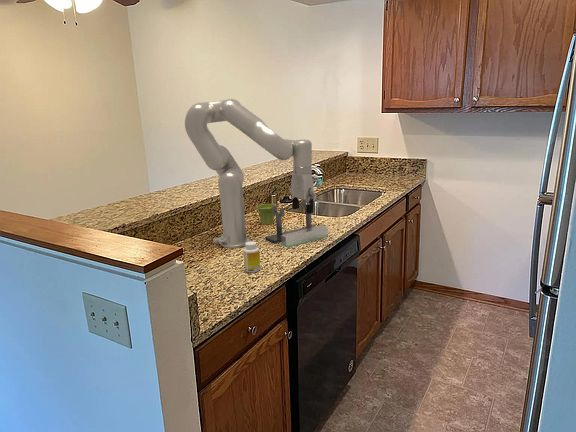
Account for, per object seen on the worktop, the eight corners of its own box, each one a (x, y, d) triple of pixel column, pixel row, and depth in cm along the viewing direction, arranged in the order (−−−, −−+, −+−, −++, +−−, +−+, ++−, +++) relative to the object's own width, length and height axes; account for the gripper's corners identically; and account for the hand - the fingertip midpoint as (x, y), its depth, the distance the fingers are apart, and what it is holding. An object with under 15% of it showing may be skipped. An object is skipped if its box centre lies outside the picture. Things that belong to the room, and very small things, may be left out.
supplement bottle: (263, 269, 158) (262, 242, 156) (252, 274, 155) (250, 246, 152) (253, 266, 162) (251, 239, 160) (241, 270, 158) (239, 243, 156)
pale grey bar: (286, 245, 181) (285, 237, 180) (281, 243, 184) (280, 235, 183) (327, 234, 193) (327, 226, 192) (322, 232, 196) (322, 225, 195)
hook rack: (274, 244, 186) (272, 210, 182) (265, 240, 191) (263, 207, 187) (322, 231, 200) (321, 200, 196) (312, 228, 205) (312, 197, 202)
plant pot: (273, 226, 211) (272, 208, 209) (254, 225, 214) (253, 208, 212) (279, 221, 220) (278, 204, 217) (262, 220, 223) (260, 203, 220)
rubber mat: (287, 247, 180) (287, 246, 180) (280, 244, 185) (280, 243, 185) (327, 236, 192) (327, 235, 192) (319, 234, 196) (319, 232, 196)
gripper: (282, 168, 186) (283, 208, 190) (308, 174, 172) (308, 216, 176) (297, 167, 190) (297, 205, 194) (323, 172, 176) (322, 213, 181)
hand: (302, 211), depth 185 cm, fingers open, 9 cm apart
